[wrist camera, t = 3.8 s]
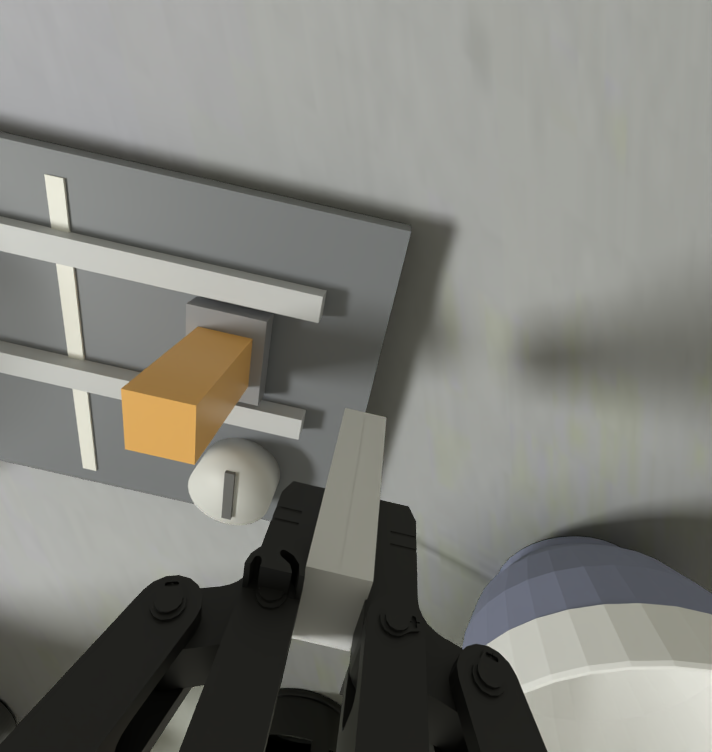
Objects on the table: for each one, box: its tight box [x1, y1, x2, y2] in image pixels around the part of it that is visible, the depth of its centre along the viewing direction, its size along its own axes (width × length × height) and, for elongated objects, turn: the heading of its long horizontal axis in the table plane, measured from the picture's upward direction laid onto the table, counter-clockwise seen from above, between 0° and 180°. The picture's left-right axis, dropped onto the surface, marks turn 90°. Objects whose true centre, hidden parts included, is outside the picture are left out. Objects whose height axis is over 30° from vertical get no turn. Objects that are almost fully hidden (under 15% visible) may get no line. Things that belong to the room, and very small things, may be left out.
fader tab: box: [121, 297, 274, 465], centre depth 17 cm, size 4×4×7 cm
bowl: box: [462, 536, 712, 752], centre depth 24 cm, size 16×16×10 cm
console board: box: [0, 131, 411, 525], centre depth 21 cm, size 22×18×4 cm
